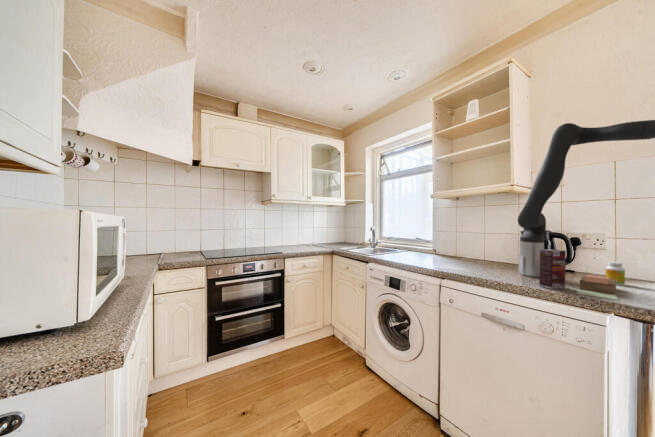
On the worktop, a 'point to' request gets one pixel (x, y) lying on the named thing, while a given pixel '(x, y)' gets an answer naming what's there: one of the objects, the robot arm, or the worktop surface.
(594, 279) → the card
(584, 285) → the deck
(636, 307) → the worktop surface
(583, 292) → the mat
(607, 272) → the supplement bottle
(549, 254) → the supplement box
